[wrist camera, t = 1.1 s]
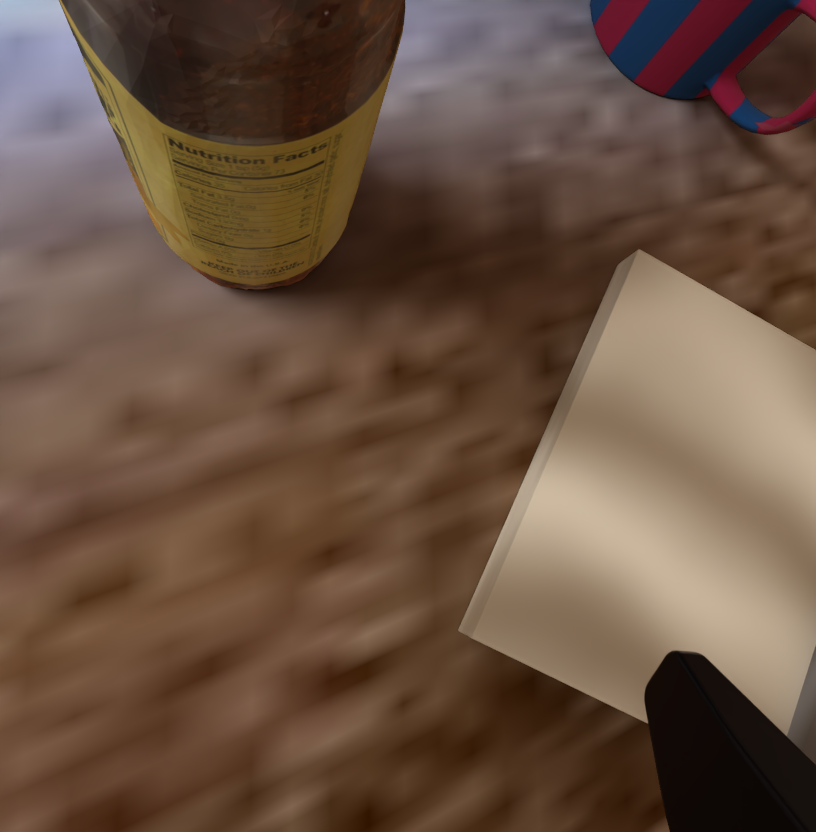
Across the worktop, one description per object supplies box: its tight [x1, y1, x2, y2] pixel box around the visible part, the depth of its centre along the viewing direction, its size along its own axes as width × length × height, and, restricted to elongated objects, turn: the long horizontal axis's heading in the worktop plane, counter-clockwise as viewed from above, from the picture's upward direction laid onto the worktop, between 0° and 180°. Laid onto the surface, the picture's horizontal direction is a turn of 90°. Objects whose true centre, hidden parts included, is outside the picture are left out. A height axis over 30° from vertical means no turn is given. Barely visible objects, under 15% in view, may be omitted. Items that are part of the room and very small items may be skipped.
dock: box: [458, 249, 816, 764], centre depth 24 cm, size 14×12×2 cm
